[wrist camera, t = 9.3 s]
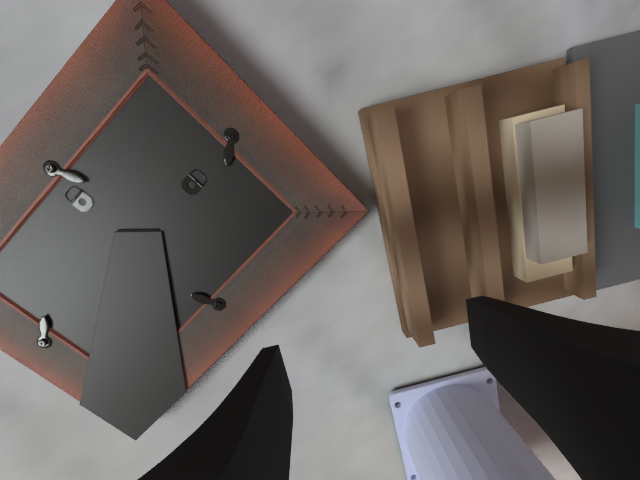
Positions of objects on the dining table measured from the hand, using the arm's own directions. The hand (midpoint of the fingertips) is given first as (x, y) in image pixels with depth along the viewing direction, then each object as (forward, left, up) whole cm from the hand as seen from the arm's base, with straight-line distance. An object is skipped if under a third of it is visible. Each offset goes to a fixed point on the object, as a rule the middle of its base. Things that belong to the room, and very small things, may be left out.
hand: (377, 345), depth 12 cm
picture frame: (+5, +11, -10) cm, 16 cm away
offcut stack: (+2, -12, -8) cm, 15 cm away
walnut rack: (+2, -9, -10) cm, 13 cm away
